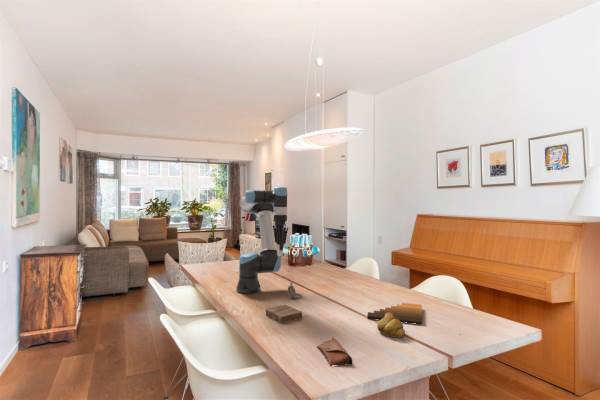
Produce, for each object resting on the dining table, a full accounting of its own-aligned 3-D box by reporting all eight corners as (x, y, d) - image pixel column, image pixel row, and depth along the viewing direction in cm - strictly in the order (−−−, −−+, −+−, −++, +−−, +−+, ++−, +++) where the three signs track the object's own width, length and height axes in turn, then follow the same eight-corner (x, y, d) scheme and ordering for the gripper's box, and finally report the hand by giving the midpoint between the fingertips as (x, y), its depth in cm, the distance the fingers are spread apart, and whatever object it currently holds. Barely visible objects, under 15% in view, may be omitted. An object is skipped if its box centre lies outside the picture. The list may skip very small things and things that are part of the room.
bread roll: (410, 338, 146) (410, 319, 146) (391, 342, 142) (392, 322, 142) (390, 327, 157) (390, 310, 157) (373, 331, 154) (373, 313, 153)
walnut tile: (265, 309, 173) (281, 316, 162) (285, 304, 180) (301, 311, 169) (265, 316, 173) (281, 324, 162) (285, 311, 180) (301, 319, 169)
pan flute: (367, 320, 168) (421, 326, 160) (367, 313, 168) (421, 319, 160) (373, 305, 192) (421, 310, 184) (373, 299, 192) (421, 303, 184)
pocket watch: (303, 296, 207) (303, 279, 207) (298, 300, 199) (298, 282, 199) (290, 295, 210) (290, 278, 210) (285, 298, 202) (285, 281, 202)
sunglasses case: (314, 345, 137) (322, 330, 138) (329, 353, 139) (337, 338, 140) (330, 367, 120) (339, 350, 121) (346, 375, 122) (355, 358, 122)
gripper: (268, 213, 199) (268, 254, 200) (281, 215, 189) (280, 258, 189) (279, 213, 204) (279, 253, 204) (292, 214, 193) (292, 256, 194)
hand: (280, 255), depth 197 cm, fingers closed
